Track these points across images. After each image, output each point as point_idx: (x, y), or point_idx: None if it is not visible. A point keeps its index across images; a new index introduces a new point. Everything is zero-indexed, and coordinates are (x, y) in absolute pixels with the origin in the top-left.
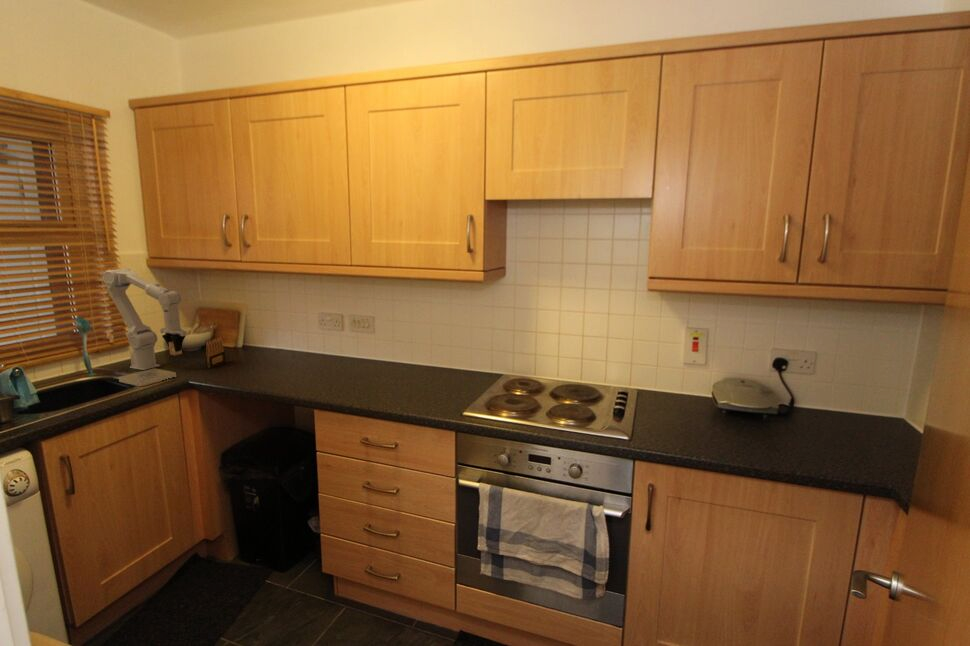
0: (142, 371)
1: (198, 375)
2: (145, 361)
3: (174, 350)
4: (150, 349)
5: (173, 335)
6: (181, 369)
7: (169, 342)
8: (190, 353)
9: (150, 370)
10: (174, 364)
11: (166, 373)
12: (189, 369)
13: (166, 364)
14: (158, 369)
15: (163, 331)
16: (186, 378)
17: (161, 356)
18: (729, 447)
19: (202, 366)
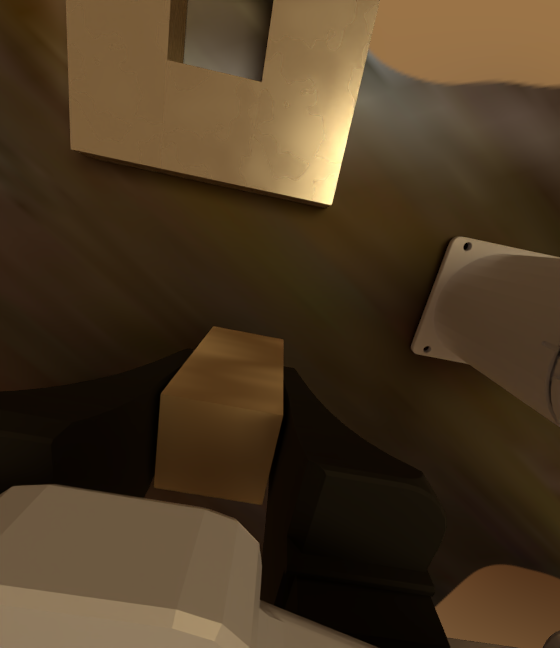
0: (349, 93)
1: (4, 235)
2: (488, 278)
3: (199, 346)
4: (540, 355)
5: (266, 594)
6: (228, 321)
7: (261, 410)
8: (435, 564)
9: (309, 141)
10: (358, 396)
11: (108, 98)
12: (182, 332)
13: (405, 386)
14: (273, 187)
15: (140, 624)
16: (2, 150)
17: (552, 500)
18: None
19: None
